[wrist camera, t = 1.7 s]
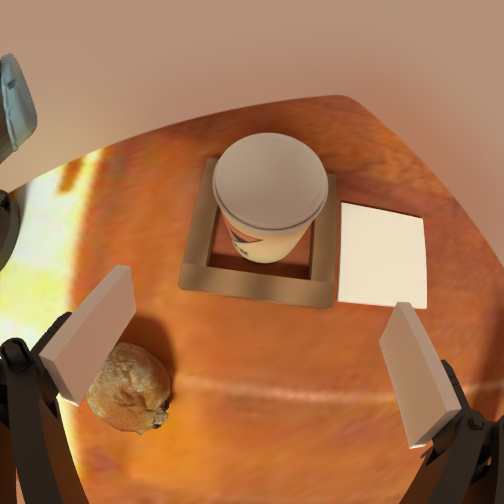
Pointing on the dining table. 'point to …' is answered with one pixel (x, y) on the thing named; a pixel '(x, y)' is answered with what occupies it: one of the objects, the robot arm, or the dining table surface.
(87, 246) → the dining table surface
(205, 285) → the square frame
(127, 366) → the bread roll
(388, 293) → the white tile
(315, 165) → the coffee cup
